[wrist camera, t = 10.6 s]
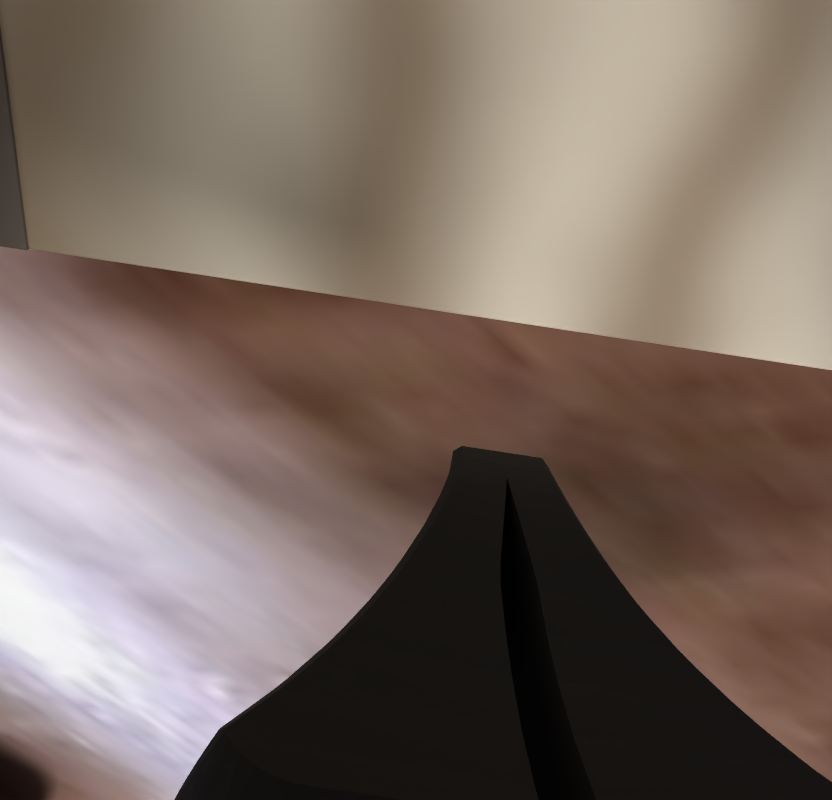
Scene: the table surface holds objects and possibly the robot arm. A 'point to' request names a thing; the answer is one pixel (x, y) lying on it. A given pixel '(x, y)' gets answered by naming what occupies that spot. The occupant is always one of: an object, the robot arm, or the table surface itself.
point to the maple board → (444, 155)
